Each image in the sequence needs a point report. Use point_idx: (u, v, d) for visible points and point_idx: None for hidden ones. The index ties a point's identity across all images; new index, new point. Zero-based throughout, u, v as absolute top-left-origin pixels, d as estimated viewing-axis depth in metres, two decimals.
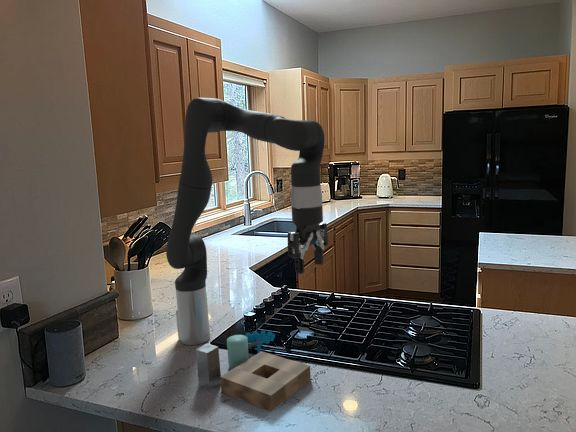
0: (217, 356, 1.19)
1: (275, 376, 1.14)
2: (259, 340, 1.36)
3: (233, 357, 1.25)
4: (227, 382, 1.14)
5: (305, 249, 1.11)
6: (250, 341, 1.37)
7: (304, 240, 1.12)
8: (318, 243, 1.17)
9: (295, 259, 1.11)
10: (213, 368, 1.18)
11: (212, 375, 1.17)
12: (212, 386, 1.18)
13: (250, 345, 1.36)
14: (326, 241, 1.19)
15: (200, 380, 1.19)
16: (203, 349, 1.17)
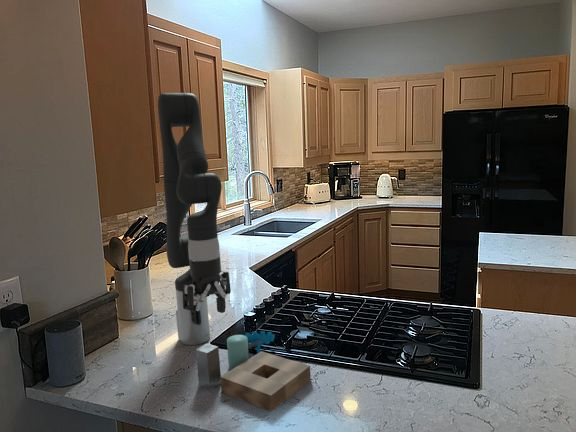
0: (217, 356, 1.19)
1: (275, 376, 1.14)
2: (259, 340, 1.36)
3: (233, 357, 1.25)
4: (227, 382, 1.14)
5: (201, 301, 1.12)
6: (250, 341, 1.37)
7: (200, 292, 1.13)
8: (218, 292, 1.18)
9: (191, 311, 1.12)
10: (213, 368, 1.18)
11: (212, 375, 1.17)
12: (212, 386, 1.18)
13: (250, 345, 1.36)
14: (228, 289, 1.21)
15: (200, 380, 1.19)
16: (203, 349, 1.17)
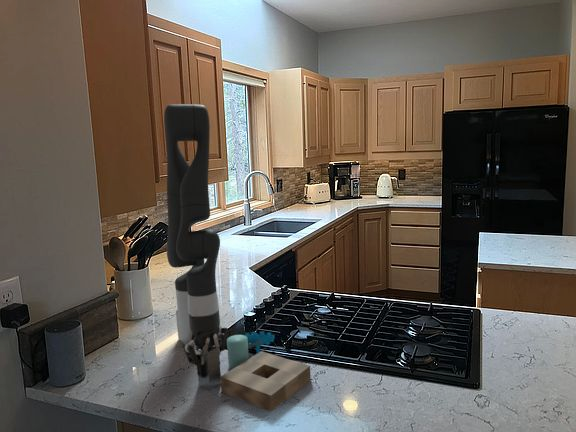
0: (217, 356, 1.19)
1: (275, 376, 1.14)
2: (258, 341, 1.36)
3: (233, 357, 1.25)
4: (227, 382, 1.14)
5: (204, 355, 1.16)
6: (250, 342, 1.37)
7: (201, 347, 1.16)
8: None
9: None
10: (213, 368, 1.18)
11: (212, 375, 1.17)
12: (212, 386, 1.18)
13: (249, 346, 1.36)
14: (223, 346, 1.21)
15: (200, 380, 1.19)
16: None
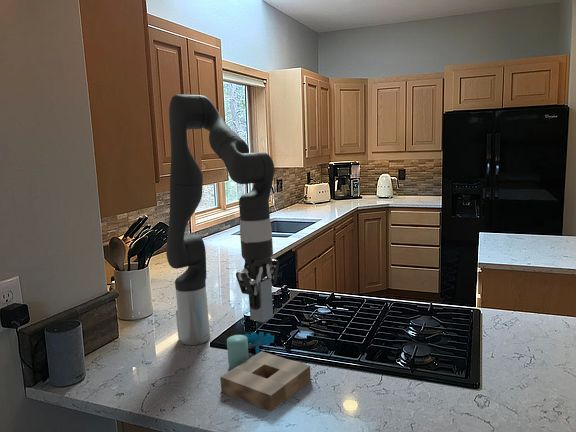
0: (270, 288, 1.13)
1: (275, 376, 1.14)
2: (258, 341, 1.35)
3: (233, 357, 1.25)
4: (227, 382, 1.14)
5: (257, 285, 1.10)
6: (249, 342, 1.37)
7: (254, 276, 1.10)
8: None
9: (249, 295, 1.11)
10: (266, 300, 1.12)
11: (264, 307, 1.12)
12: (265, 319, 1.12)
13: (249, 346, 1.35)
14: (274, 279, 1.16)
15: (251, 313, 1.14)
16: None
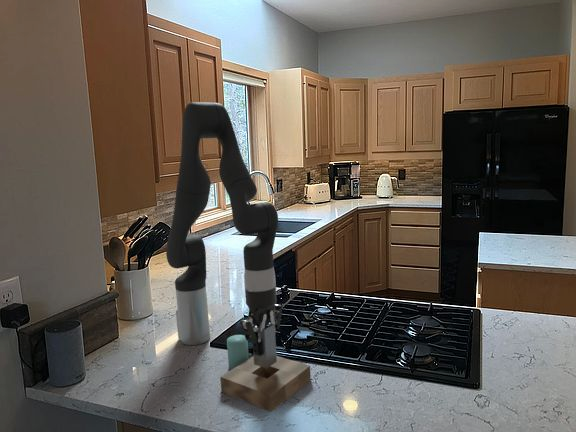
0: (273, 334, 1.15)
1: (275, 376, 1.14)
2: None
3: (233, 357, 1.25)
4: (227, 382, 1.14)
5: (261, 332, 1.12)
6: (249, 342, 1.37)
7: (258, 324, 1.12)
8: None
9: (253, 342, 1.13)
10: (270, 346, 1.15)
11: (268, 353, 1.14)
12: (268, 364, 1.15)
13: (249, 346, 1.35)
14: (277, 324, 1.18)
15: (255, 358, 1.16)
16: None
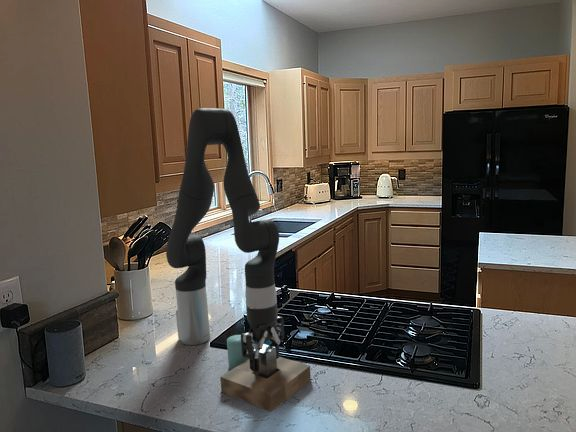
0: (275, 357, 1.17)
1: (275, 376, 1.14)
2: None
3: (233, 357, 1.25)
4: (227, 382, 1.14)
5: (259, 348, 1.12)
6: None
7: (258, 339, 1.13)
8: (273, 338, 1.17)
9: (250, 358, 1.12)
10: (271, 369, 1.16)
11: None
12: None
13: None
14: (282, 335, 1.20)
15: None
16: (261, 350, 1.15)
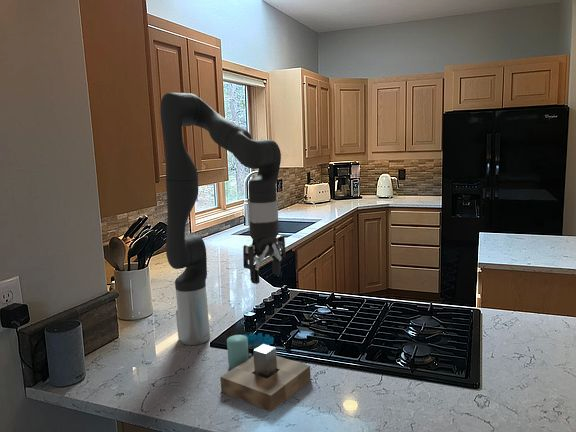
0: (274, 357, 1.17)
1: (275, 376, 1.14)
2: (257, 342, 1.35)
3: (233, 357, 1.25)
4: (227, 382, 1.14)
5: (260, 261, 1.19)
6: (249, 343, 1.36)
7: (260, 252, 1.19)
8: (275, 255, 1.24)
9: (251, 270, 1.19)
10: (271, 369, 1.16)
11: None
12: None
13: (248, 347, 1.35)
14: (283, 253, 1.26)
15: None
16: (261, 350, 1.15)
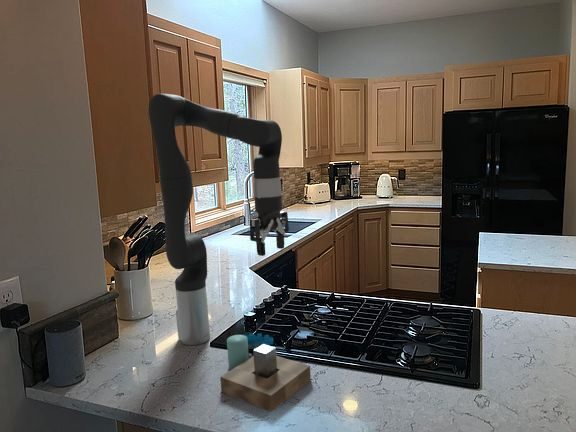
0: (274, 357, 1.17)
1: (275, 376, 1.14)
2: (257, 343, 1.34)
3: (233, 357, 1.25)
4: (227, 382, 1.14)
5: (266, 234, 1.26)
6: (249, 343, 1.36)
7: (265, 226, 1.26)
8: (279, 229, 1.31)
9: (257, 243, 1.26)
10: (271, 369, 1.16)
11: None
12: None
13: (248, 347, 1.35)
14: (287, 228, 1.34)
15: None
16: (261, 350, 1.15)
